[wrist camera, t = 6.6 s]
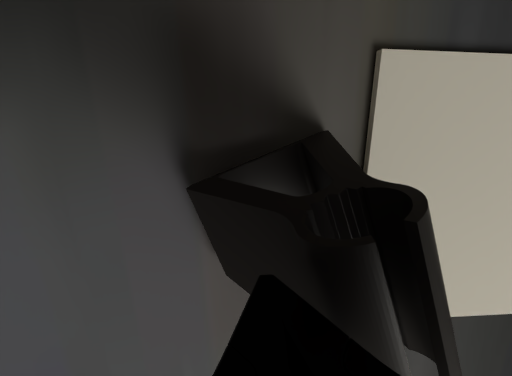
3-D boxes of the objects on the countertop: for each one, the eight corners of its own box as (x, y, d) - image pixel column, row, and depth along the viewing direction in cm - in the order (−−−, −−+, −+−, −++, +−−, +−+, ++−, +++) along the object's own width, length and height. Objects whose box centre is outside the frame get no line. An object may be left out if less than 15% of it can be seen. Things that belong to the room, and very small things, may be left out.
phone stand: (325, 129, 17) (582, 144, 6) (349, 215, 19) (585, 354, 8) (185, 186, 16) (171, 336, 5) (224, 271, 18) (281, 531, 7)
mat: (346, 316, 21) (350, 322, 20) (376, 51, 16) (382, 48, 16) (542, 306, 22) (550, 311, 22) (618, 60, 18) (631, 59, 17)
